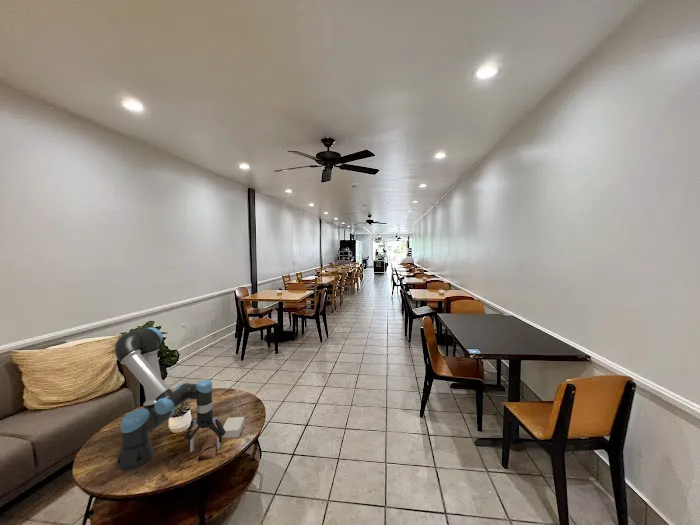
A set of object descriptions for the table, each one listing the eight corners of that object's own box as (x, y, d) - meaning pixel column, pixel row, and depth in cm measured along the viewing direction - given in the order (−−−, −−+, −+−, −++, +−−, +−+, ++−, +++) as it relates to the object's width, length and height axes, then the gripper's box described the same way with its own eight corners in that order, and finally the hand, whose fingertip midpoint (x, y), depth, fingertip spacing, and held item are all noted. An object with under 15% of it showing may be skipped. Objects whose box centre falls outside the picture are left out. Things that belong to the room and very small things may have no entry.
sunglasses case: (216, 458, 147) (208, 448, 146) (203, 467, 145) (195, 457, 144) (221, 437, 164) (215, 428, 163) (210, 445, 163) (203, 436, 162)
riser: (238, 436, 165) (238, 429, 165) (220, 438, 163) (220, 431, 163) (244, 423, 179) (244, 416, 179) (227, 424, 177) (227, 417, 177)
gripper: (230, 404, 159) (231, 442, 159) (183, 408, 156) (184, 446, 156) (226, 412, 151) (227, 451, 152) (176, 415, 148) (177, 456, 149)
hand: (205, 449), depth 154 cm, fingers open, 13 cm apart
